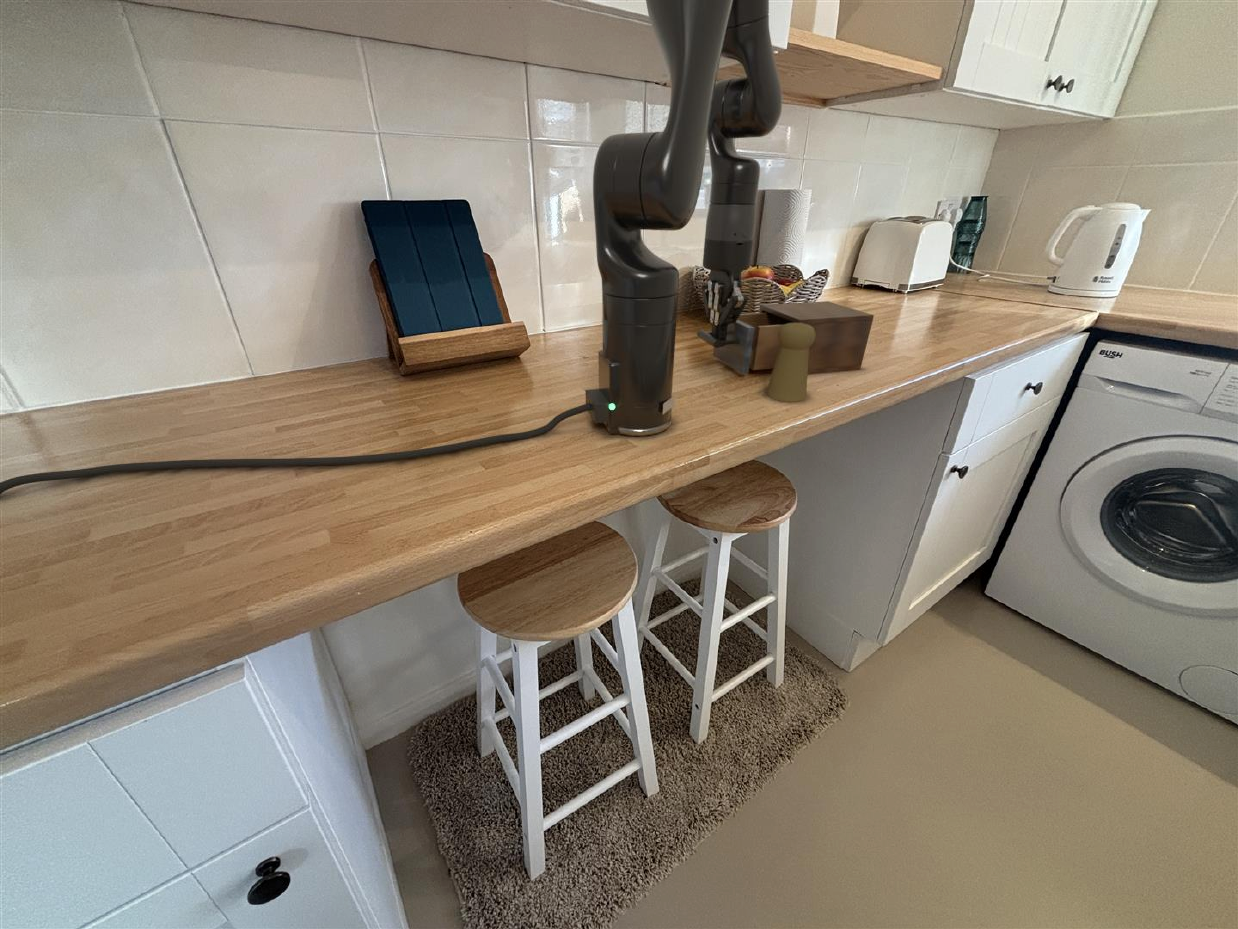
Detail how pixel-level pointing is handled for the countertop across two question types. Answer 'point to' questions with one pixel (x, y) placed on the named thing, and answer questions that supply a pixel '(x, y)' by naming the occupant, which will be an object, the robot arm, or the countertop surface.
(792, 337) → the olive chess pawn
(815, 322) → the cabinet
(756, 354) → the drawer
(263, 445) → the countertop surface
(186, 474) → the countertop surface
